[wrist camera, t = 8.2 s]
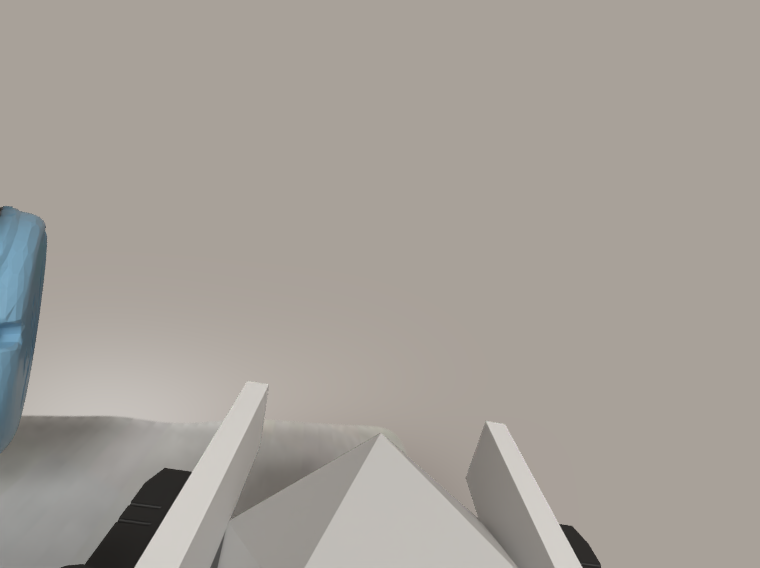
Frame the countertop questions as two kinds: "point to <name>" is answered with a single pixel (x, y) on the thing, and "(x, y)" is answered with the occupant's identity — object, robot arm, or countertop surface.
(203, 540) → the robot arm
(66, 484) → the countertop surface
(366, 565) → the die
